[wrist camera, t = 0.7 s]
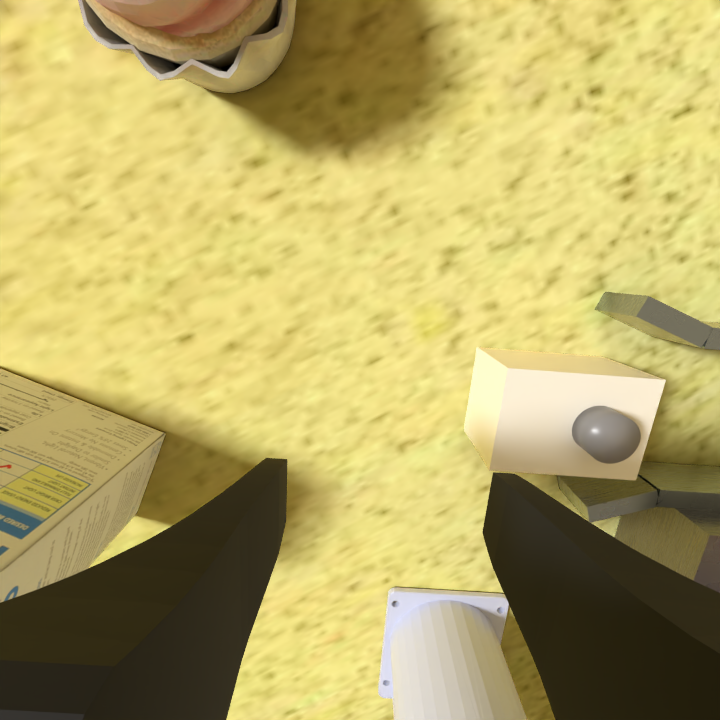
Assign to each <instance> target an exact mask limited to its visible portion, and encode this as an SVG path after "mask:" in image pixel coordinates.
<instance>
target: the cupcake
mask: <svg viewBox="0 0 720 720" xmlns="http://www.w3.org/2000/svg"><path fill="white" fill-rule="evenodd" d="M78 1H79V5H80V9H81V13H82V17H83V21H84V25H85V27H86V28H87V30H88V31H89V32H90V34H91V35H92V36H93V38H94V39H95V40H96V41H98V42H99V43H101V44H102V45H104V46H106V47H107V48H109V49H113V50H118V51H123V52H128V53H132V54H135V55H136V56H137V58H138V59H139V60H140V62H141V63H142V64H143V66H144V67H145V68H146V70H147V71H148V72H150V73H151V74H152V75H154V76H155V77H156V78H157V79H159V80H160V81H161V80H171V79H181V78H184V79H186V80H188V81H190V82H192V83H194V84H196V85H198V86H201V87H203V88H206V89H209V90H212V91H216V92H223V93H236V92H240V91H244V90H248V89H250V88H253V87H255V86H257V85H258V84H260V83H262V82H264V81H265V80H267V79H268V77H269V76H270V75H271V74H272V73H273V72H274V71H275V70H276V69H277V67H278V66H279V65H280V63H281V62H282V60H283V58H284V57H285V55H286V53H287V51H288V49H289V47H290V43H291V39H292V35H293V30H294V24H295V10H296V1H297V0H78Z"/></svg>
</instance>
